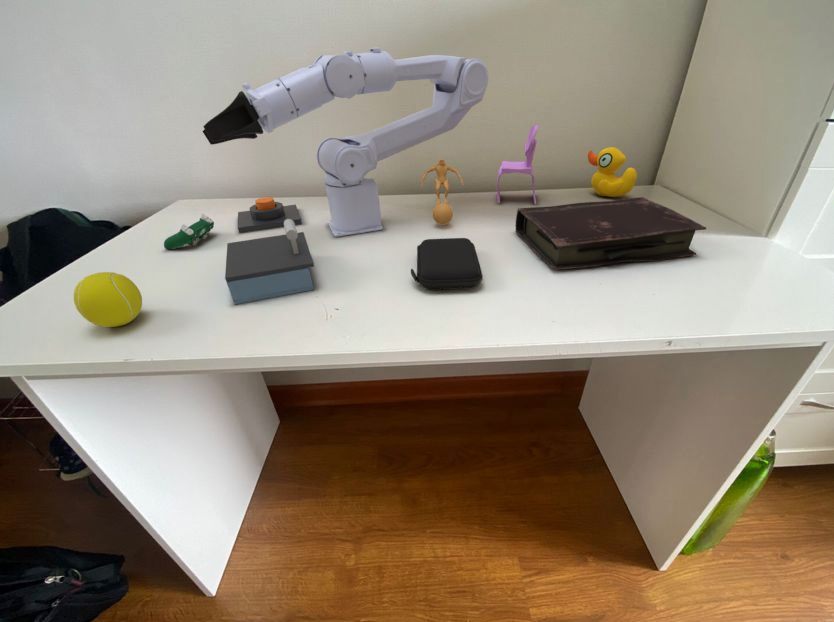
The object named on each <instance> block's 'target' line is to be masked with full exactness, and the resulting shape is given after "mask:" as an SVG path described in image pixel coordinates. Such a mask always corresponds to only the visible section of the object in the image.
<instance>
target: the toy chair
mask: <svg viewBox="0 0 834 622" xmlns="http://www.w3.org/2000/svg"><path fill="white" fill-rule="evenodd" d="M538 130H539V125H537V124H533V125H532V126H531V128H530V129H529V132H528V136H527V139H526V141H525V145H524V155H525V161H505V160H502V161H501V166H500V167H499V168H498V172H497V180H496V198H497V205H500V204H501V192H500V184H499V183H500V180H501V176H502V175H504V174H517V173H518V174H525V175H530V176H531V184H532V196H533V203H534V205H537V197H536V188H535V187H536V186H535V173H534V170H533V169H534V168H533V160H534V155H535V152H536V151H535V150H536V147H537V141H538V140H537V139H535V138H536V135H537V132H538Z"/></svg>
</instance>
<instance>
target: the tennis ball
mask: <svg viewBox="0 0 834 622" xmlns="http://www.w3.org/2000/svg"><path fill="white" fill-rule="evenodd" d="M73 303H74V305H75V308H76V310H77V311H78V313H79V314H80V315H81V316H82V317H83V319H85V320H86V321H88V322H90V323H91V324H93V325H96V326H99V327H102V328H103V327H104V328H114V327H115V328H116V327H121V326H125V325H127V324H129V323H131V322H132V321H134V320H135V319H136V317H138V315H140V313H141V311H142V307H143V297H142V293H141V290H140V289H139V287H138V286H137V285H136V284H135V282H134V281H133V280H131V279H130V278H129V277H127V276H125V275H124V274H121V273H117V272H112V271H101V272H96V273H92V274H89V275H87V276H85V277H84V278H82V279H81V280H80V281H78V283H77V284H76V286H75V288H74V291H73Z"/></svg>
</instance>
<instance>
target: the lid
mask: <svg viewBox="0 0 834 622" xmlns="http://www.w3.org/2000/svg"><path fill="white" fill-rule="evenodd" d="M283 228H284V231H285V232H284V233H285V234H279V235H273V236H272V235H271V236H266V237H259V238H253V239H247V240H239V241H233V242H227V243H226V245H227V246H226V257H225V258H226V259H225V272H224V273H225V274H224V280H225V282H226V283H227V282H228V281H233V280H239V279H245V278H251V277H257V276H262V275H268V274H274V273H280V272H286V271H291V270H297V269H303V268H309V269H310V268H312V267H313V268H314V267H315V263H314V260H313V257H312V254H311V250H310V248H309V245H308V241H307V239H306V236H305V232H304V231H300V232H298V231H297V227H296V225H295V224H294V221H293V220H291V219H286V220H285V221H284V227H283Z"/></svg>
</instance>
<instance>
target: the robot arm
mask: <svg viewBox="0 0 834 622" xmlns="http://www.w3.org/2000/svg"><path fill="white" fill-rule="evenodd" d="M419 80H429V81H430V83H431V84H433V94H432V105H431V106H429V107H427V108H424V109H423V110H420V111H419V110H418V111H417V112H414V113H412V114H409V115H406V116H405V117H403V118H400V119H397V120H395V121H393V122H390V123H386V124H385V125H382V126H379V127H378V128H375V129H372V130H370V131H367V132H365V133H363V134H357V135H354V134H353V135H347V136H344V137H343V138H338V137H337V138H336V137H327V138H325V139H323V140H322V141H321V142H319V144H318V146H317V148H316V154H315V156H316V161H317V164H318V166H319V168H320V169H321V170H322V171H323V172H324V173H325V175H324V184H325V185H324V186H325V190H326V196H327V202H328V207H329V213H330V214H329V215H330V220H329V221H327V224H328V226H329V229H330V231H331V232H332V235H333V236H334V237H335V238H337V237H345V236H351V235H357V234H358V235H359V234H365V233H370V232H377V231H382V230H383V229H384V227H383V225H382V224H383V223H382V215H381V214H382V213H381V205H380V204H381V203H380V195H379V190H378V185H377V183H376V180H375V179H374V178H373V177H370V178H366V175H367V174H368V173H370V172H371V171H373V170H375V169H376V168H377V165H378V162H380V161H382V160H385V159H387V158H389V157H392V156H394V155H397V154H400V153H402V152H403V151H405V150H408V149H410V148H413V147H415V146H417V145H420V144H421V143H422V144H423V143H425V142H427V141H429V140H431V139H434V138H436V137H438V136H440V135H443V134H445V133H447V132H450V131H452V130H454V129H455V128H456V127H457V126H458V125H459V123H460V122H461V121H462V120H463V119H464V118H465V117H466V115H467V114H468V112H469V111H470V110H471V109H472V107H474V106H476V105H477V104H479V103H481V102H482V101H483V98H484V95H485V92H486V90H487V86H488V84H489V71H488V66H487V65H486V64H485V62H484V61H483V60H482V59H480V58H475V57H474V58H467V57H463V56H455V55H444V54H429V55H421V56H413V57H406V58H399V59H398V58H397V59H394V58H393V56H391V54H389V52H387V51H384V50H381V47H370V48H369V52H358V53H356V52H355V53H353V50H344V51H343V53H342V54H339V55H338V54H325V55H323V54H321V55H319V56H318V57H317V58H316V59H314V62H313V63H312V64H309V65H308V66H307V67H301V68H299V69H296V70H295V71H292V72H290V73H287V74H285V75H283V76H281V77H278V78H276V79H274V80H271V81H269V82H267V83H265V84H263V85H260V86H257V87H256V88H254V89H252V88H251V86H250V84H249V82H247V81H246V82H243V83H242V88H243V90H244V91H243V90H240V91H239V92H238V93H237V95H236V96H235V98H234V99H233V100H232V101H231V103H230V104H229V105H228V106H227V107H226V108H225V109H223V110H222V111H220V112H219V113H218V114H217V115H215V116H213V117H212V118H211V119H210V120H209V121H207V122H206V123H205V124H204V125H203V130H202V133H203V135H204V136H205V138H206V139H207V141H208V143H209V144H210V145H218V144H223V143H226V142H229V141H234V140H241V139H242V140H243V139H247V140H249V139H250V140H251V139H252V140H255V139H257V138H258V135H263V134H264V131H265V132H266V133H267V134H271V133H272V132H274V130H276V129H277V128H279V127H282V126H283V125H286V124H288V123H290V122H292V121H295V120H297V119H298V118H300V117H302V116H304V115H307V114H309V113H311V112H312V111H315V110H317V109H319V108H321V107H322V106H323V105H325V104H327V103H329V102H333V101H334V100H335V98H340V99H349V100H350V99H352V98H354V97H355V96H356V95H357V96H358V95H365V94H374V93H375V94H376V93H382V92H389V91H391V90H392V89H393V88H394V87H395V85H396V83H398V82H405V81H419Z"/></svg>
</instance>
